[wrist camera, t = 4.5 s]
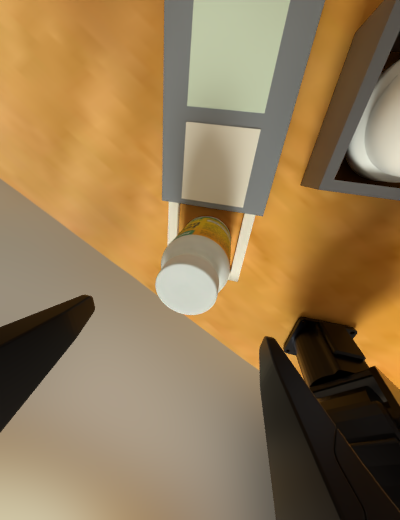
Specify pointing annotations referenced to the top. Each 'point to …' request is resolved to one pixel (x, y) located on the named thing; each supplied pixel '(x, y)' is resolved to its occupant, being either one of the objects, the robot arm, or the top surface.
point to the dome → (379, 132)
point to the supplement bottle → (195, 266)
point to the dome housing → (354, 103)
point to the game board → (230, 102)
